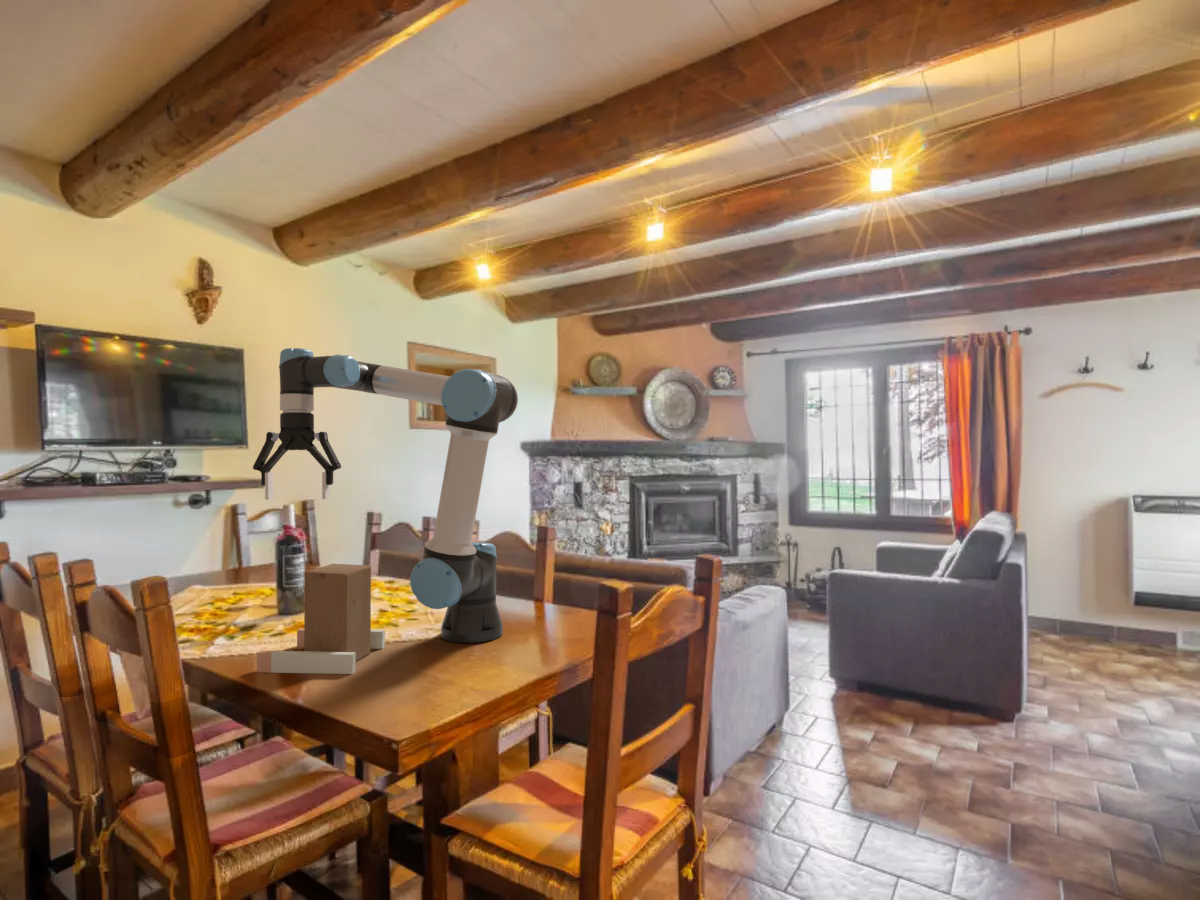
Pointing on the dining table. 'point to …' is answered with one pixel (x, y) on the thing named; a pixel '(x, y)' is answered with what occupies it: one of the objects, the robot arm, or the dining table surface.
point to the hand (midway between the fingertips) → (297, 499)
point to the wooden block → (338, 609)
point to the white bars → (313, 658)
